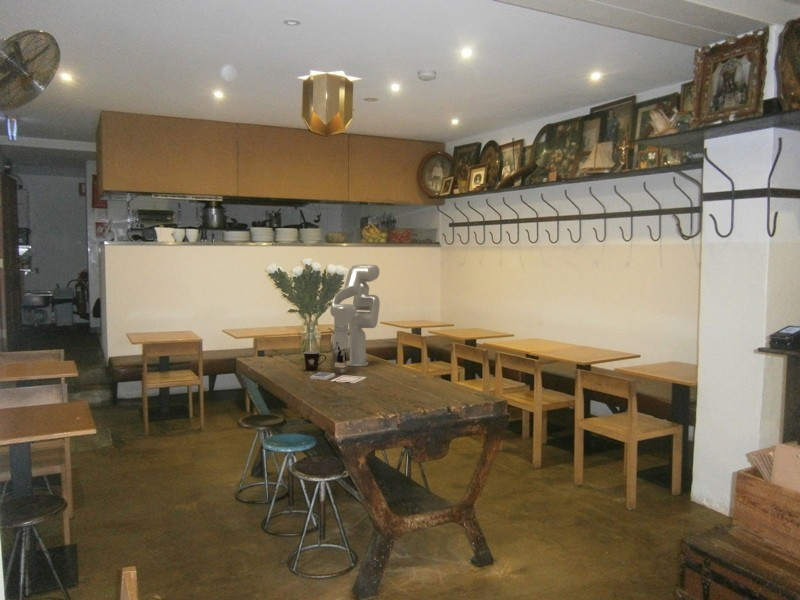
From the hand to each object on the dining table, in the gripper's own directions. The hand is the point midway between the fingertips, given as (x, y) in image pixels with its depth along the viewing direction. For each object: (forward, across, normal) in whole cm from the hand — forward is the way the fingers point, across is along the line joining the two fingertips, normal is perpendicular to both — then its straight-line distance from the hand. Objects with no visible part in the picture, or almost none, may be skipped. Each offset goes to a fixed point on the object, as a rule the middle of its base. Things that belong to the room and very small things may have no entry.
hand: (341, 361), depth 340 cm
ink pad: (+6, +13, -5) cm, 16 cm away
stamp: (+3, 0, 0) cm, 3 cm away
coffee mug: (+7, -3, -19) cm, 20 cm away
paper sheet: (+6, +13, +10) cm, 17 cm away
